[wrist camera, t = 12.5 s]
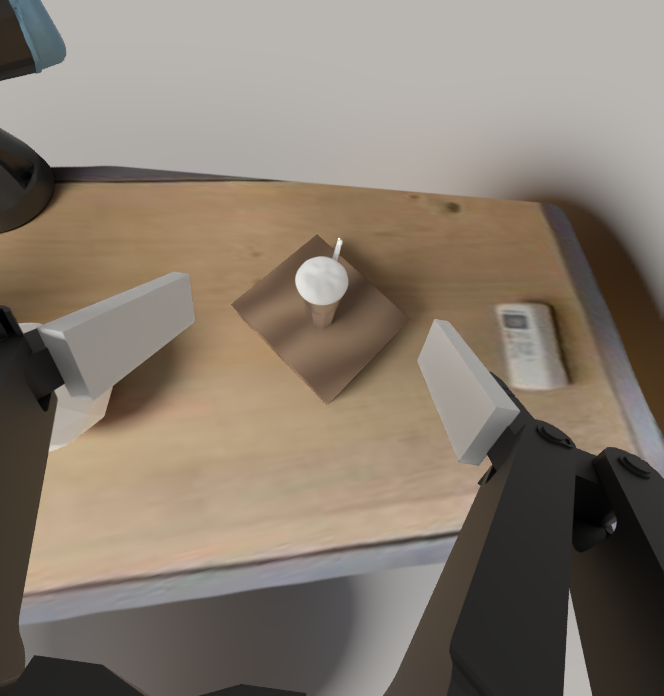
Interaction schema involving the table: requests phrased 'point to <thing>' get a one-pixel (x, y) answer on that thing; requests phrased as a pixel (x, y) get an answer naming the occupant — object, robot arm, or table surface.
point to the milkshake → (322, 287)
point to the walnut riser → (315, 342)
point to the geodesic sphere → (72, 411)
